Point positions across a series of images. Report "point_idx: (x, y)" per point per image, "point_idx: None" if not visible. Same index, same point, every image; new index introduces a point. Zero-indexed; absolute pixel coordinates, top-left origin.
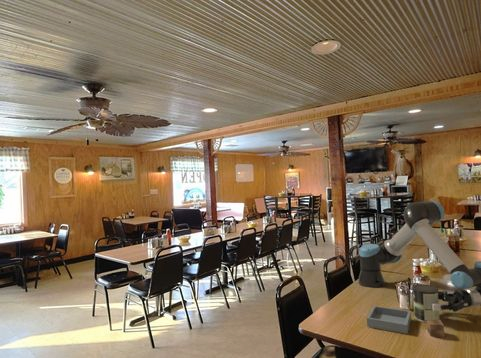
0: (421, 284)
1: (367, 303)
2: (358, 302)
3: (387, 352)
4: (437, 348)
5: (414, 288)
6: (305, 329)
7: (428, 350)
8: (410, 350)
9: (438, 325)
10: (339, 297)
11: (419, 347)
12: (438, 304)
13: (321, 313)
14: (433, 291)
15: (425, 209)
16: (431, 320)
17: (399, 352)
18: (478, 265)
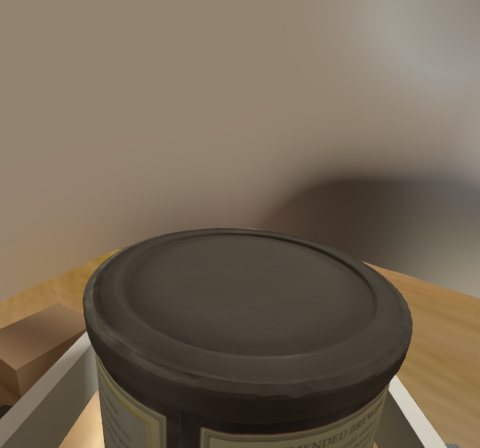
0: (394, 293)
1: (423, 327)
2: (420, 310)
3: (113, 252)
4: (6, 317)
5: (254, 231)
6: (244, 228)
7: (34, 295)
8: (79, 273)
9: (12, 326)
10: (446, 290)
11: (65, 289)
12: (50, 370)
13: None
14: (107, 260)
15: None
16: (68, 329)
17: (95, 261)
18: None
